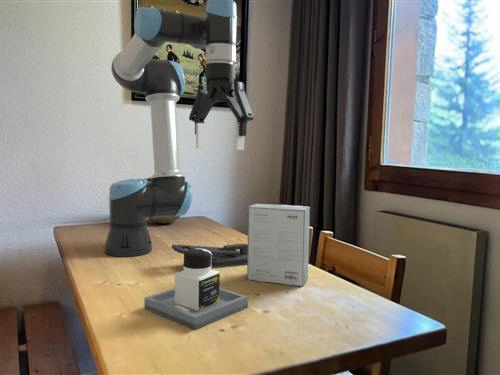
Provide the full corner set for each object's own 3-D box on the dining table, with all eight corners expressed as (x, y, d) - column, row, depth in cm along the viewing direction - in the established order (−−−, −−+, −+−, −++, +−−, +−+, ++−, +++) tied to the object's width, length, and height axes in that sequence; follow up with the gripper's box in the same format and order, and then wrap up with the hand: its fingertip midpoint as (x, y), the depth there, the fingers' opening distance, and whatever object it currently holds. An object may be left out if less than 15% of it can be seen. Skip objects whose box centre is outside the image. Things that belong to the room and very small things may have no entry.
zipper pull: (168, 243, 129) (244, 236, 141) (168, 266, 130) (243, 256, 142) (179, 250, 121) (258, 242, 133) (179, 274, 122) (257, 263, 134)
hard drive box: (308, 278, 120) (311, 206, 118) (302, 287, 113) (305, 210, 111) (254, 272, 125) (256, 202, 123) (245, 279, 118) (247, 206, 116)
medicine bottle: (199, 312, 93) (199, 256, 91) (173, 304, 96) (174, 251, 95) (219, 302, 98) (220, 249, 97) (195, 295, 102) (195, 244, 101)
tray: (144, 308, 96) (144, 297, 96) (197, 290, 109) (197, 280, 109) (195, 329, 86) (195, 317, 86) (247, 307, 99) (247, 296, 98)
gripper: (176, 66, 116) (175, 147, 118) (249, 56, 100) (247, 150, 102) (196, 70, 122) (196, 147, 124) (269, 61, 106) (266, 150, 108)
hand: (219, 148), depth 113 cm, fingers open, 13 cm apart
